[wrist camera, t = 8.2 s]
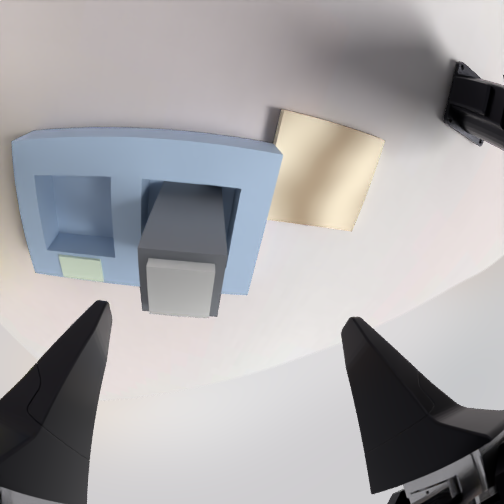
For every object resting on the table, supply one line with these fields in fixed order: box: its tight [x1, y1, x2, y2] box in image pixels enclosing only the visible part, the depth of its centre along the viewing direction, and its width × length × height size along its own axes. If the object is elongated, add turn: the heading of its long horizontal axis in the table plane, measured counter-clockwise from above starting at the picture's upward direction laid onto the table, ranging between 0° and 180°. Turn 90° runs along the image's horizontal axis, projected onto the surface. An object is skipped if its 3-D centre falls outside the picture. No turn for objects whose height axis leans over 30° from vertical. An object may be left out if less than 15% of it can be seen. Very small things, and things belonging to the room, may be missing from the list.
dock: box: [12, 127, 283, 295], centre depth 18 cm, size 18×11×3 cm, turn 79°
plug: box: [137, 181, 228, 318], centre depth 16 cm, size 4×4×9 cm
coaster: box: [267, 109, 385, 231], centre depth 19 cm, size 8×8×1 cm
